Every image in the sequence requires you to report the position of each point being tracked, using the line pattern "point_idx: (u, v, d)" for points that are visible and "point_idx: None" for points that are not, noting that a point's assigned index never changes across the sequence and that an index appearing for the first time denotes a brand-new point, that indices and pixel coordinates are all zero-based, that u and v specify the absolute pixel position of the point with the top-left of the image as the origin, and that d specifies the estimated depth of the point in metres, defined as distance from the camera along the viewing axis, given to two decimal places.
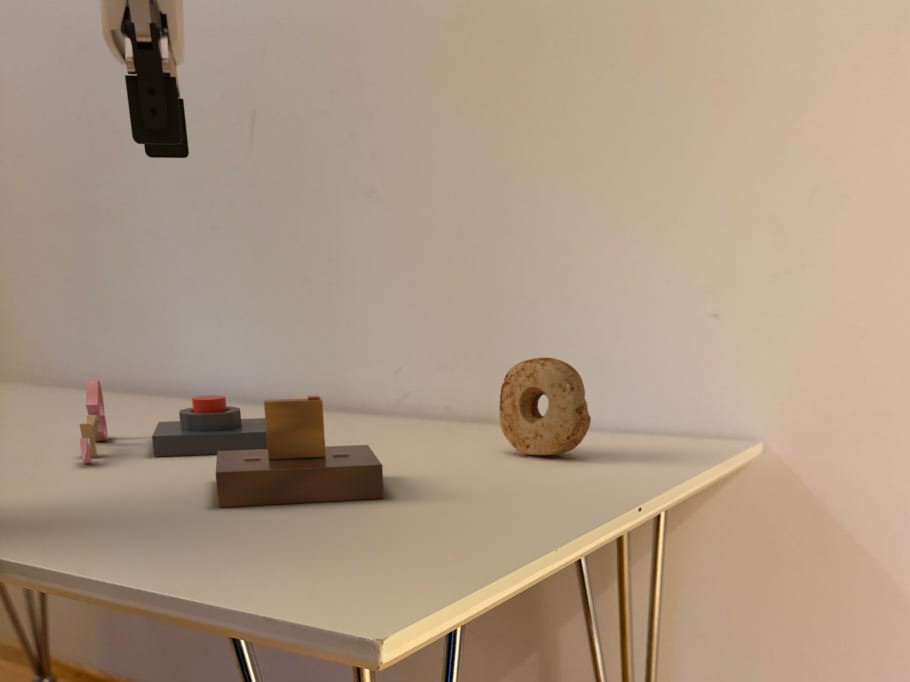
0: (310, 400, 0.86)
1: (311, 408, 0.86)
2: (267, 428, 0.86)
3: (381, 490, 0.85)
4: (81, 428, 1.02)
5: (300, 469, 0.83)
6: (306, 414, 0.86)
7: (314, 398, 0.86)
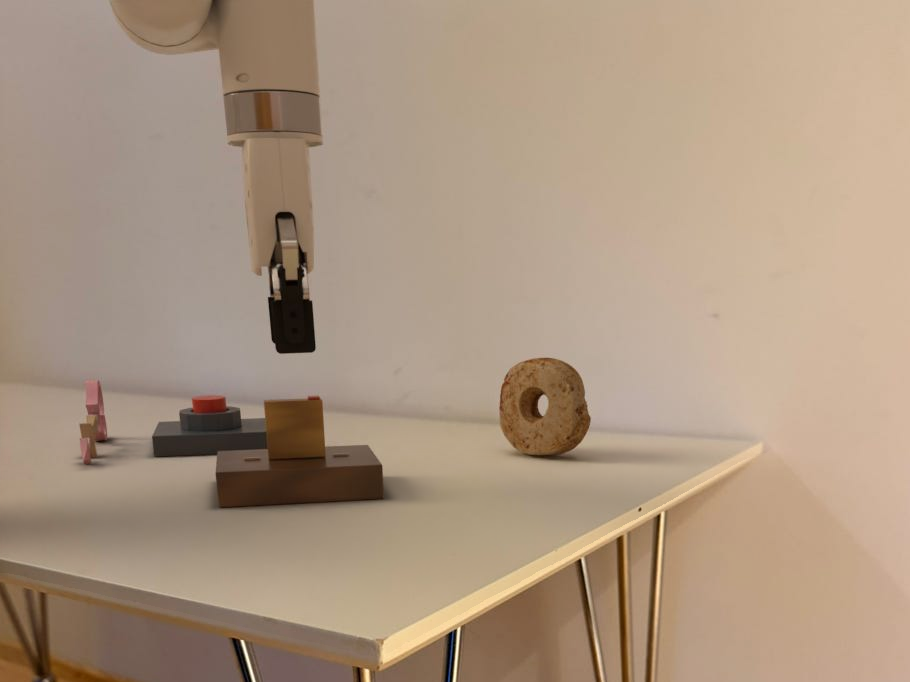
0: (310, 400, 0.86)
1: (311, 408, 0.86)
2: (267, 428, 0.86)
3: (381, 490, 0.85)
4: (81, 428, 1.02)
5: (300, 469, 0.83)
6: (306, 414, 0.86)
7: (314, 398, 0.86)
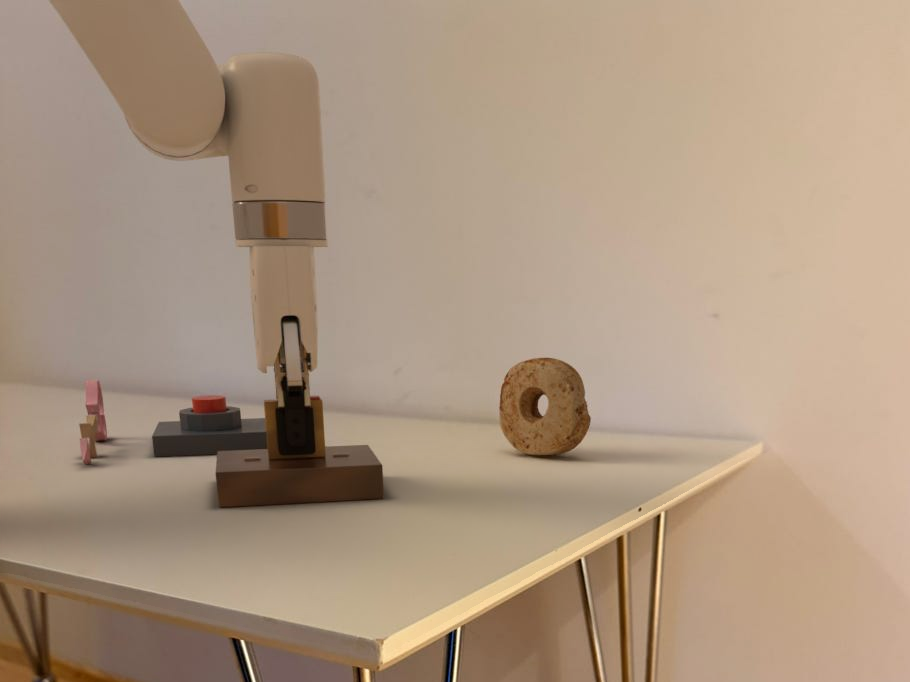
0: (310, 400, 0.86)
1: None
2: (267, 428, 0.86)
3: (381, 490, 0.85)
4: (81, 428, 1.02)
5: (300, 469, 0.83)
6: None
7: (314, 398, 0.86)
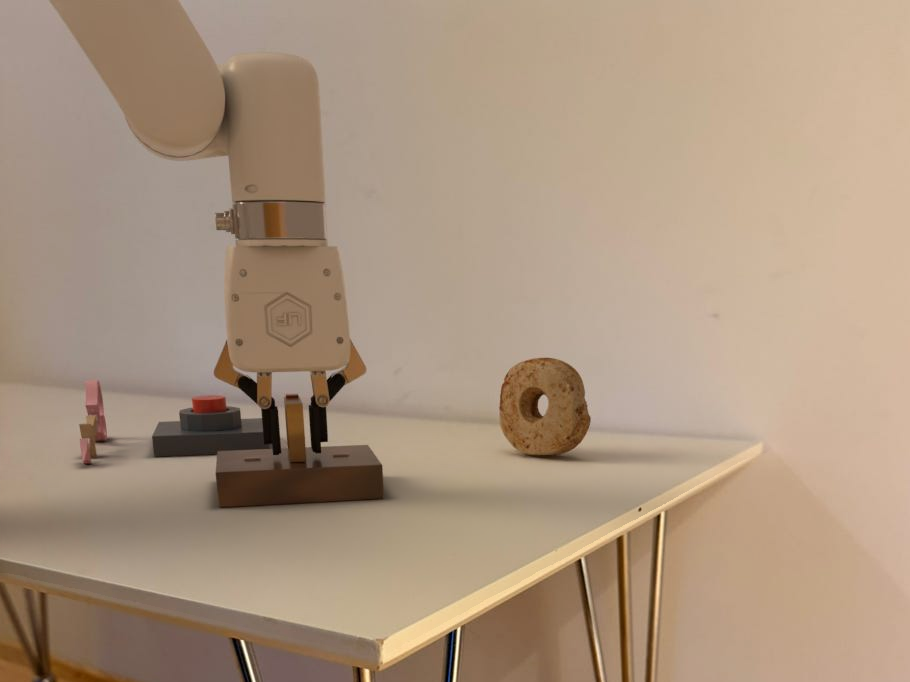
0: (298, 397, 0.87)
1: None
2: None
3: (381, 490, 0.85)
4: (81, 429, 1.02)
5: (300, 469, 0.83)
6: None
7: None
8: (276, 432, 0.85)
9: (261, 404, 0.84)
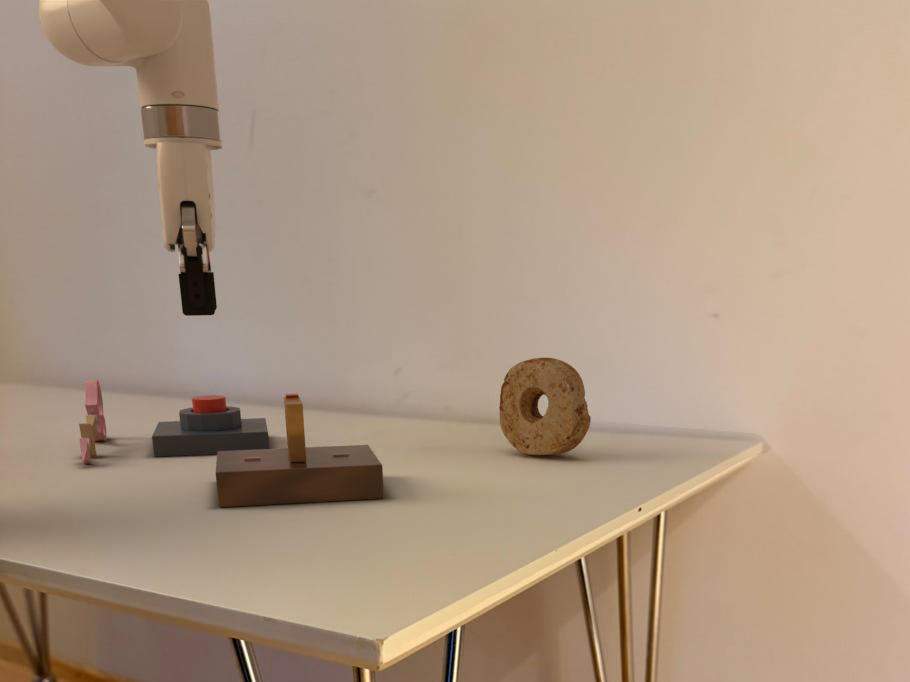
0: (298, 397, 0.87)
1: None
2: None
3: (381, 490, 0.85)
4: (80, 428, 1.02)
5: (300, 469, 0.83)
6: None
7: None
8: None
9: None
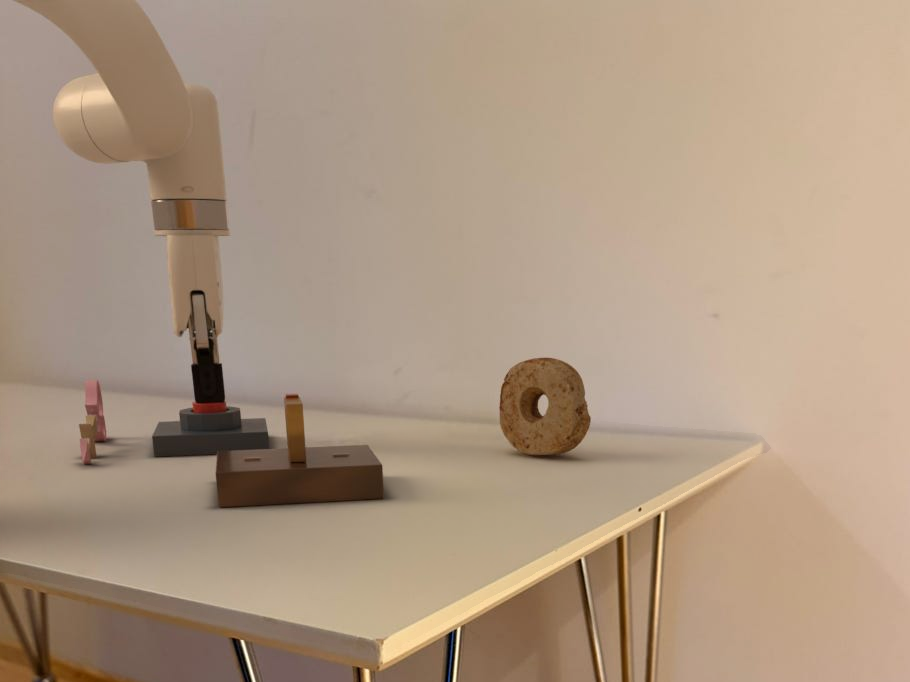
0: (298, 397, 0.87)
1: None
2: None
3: (381, 490, 0.85)
4: (80, 428, 1.02)
5: (300, 469, 0.83)
6: None
7: None
8: None
9: None
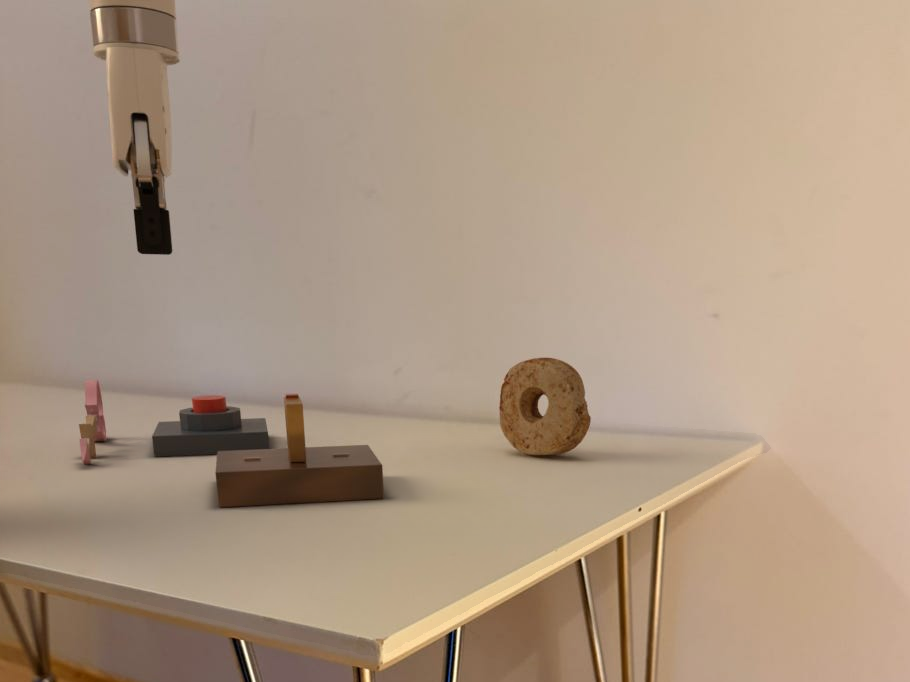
0: (298, 397, 0.87)
1: None
2: None
3: (381, 490, 0.85)
4: (80, 428, 1.02)
5: (300, 469, 0.83)
6: None
7: None
8: None
9: None
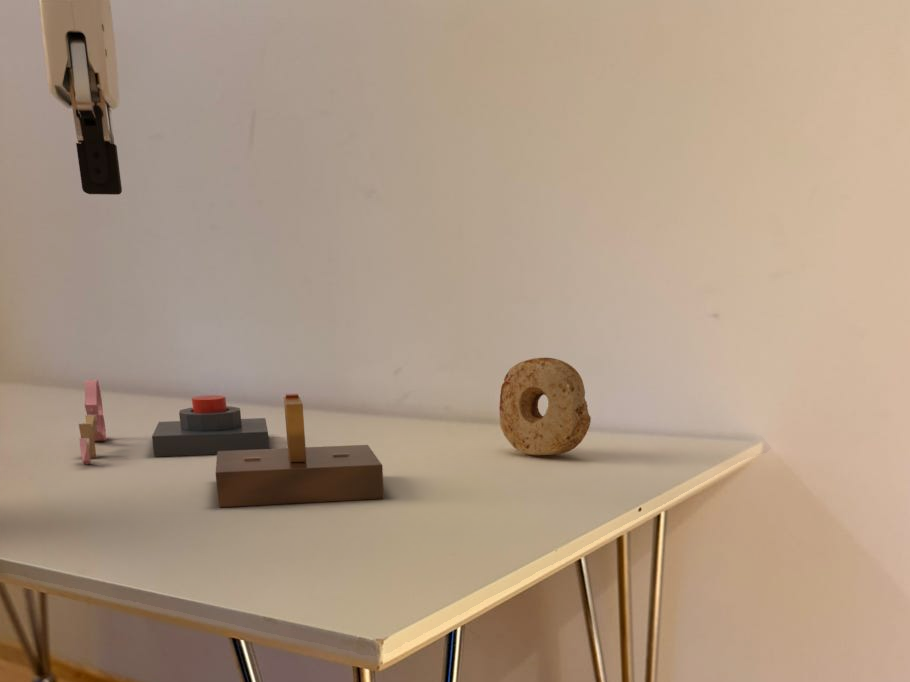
0: (298, 397, 0.87)
1: None
2: None
3: (381, 490, 0.85)
4: (80, 428, 1.02)
5: (300, 469, 0.83)
6: None
7: None
8: None
9: None
